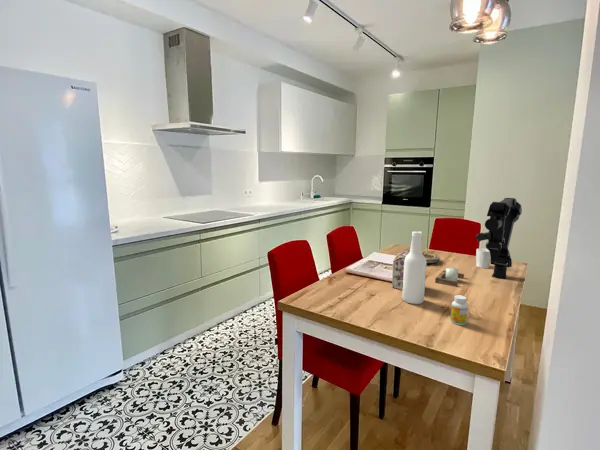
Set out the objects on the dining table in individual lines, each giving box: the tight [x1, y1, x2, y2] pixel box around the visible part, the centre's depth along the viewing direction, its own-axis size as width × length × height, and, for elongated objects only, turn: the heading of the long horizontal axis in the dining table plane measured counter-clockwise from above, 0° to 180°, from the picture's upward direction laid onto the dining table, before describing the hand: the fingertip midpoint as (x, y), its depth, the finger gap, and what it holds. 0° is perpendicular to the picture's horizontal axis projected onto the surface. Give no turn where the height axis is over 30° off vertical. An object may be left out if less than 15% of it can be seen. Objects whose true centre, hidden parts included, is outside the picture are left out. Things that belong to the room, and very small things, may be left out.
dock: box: [434, 270, 465, 288], centre depth 169 cm, size 16×10×2 cm, turn 144°
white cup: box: [475, 247, 491, 269], centre depth 193 cm, size 8×8×10 cm
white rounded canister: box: [444, 267, 459, 281], centre depth 169 cm, size 6×6×6 cm
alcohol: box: [401, 230, 427, 305], centre depth 141 cm, size 9×9×30 cm
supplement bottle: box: [450, 294, 469, 326], centre depth 123 cm, size 5×5×10 cm
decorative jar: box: [391, 249, 427, 291], centre depth 158 cm, size 12×12×18 cm
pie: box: [422, 250, 441, 265], centre depth 204 cm, size 28×27×5 cm
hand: (493, 259), depth 164 cm, fingers open, 9 cm apart
